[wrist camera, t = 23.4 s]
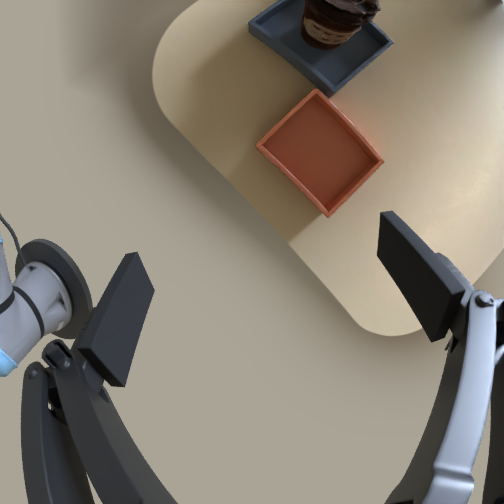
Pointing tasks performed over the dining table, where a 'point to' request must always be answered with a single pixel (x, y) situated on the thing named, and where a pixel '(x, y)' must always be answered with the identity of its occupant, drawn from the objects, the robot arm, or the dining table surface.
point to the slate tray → (312, 59)
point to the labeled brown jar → (335, 21)
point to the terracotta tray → (320, 152)
